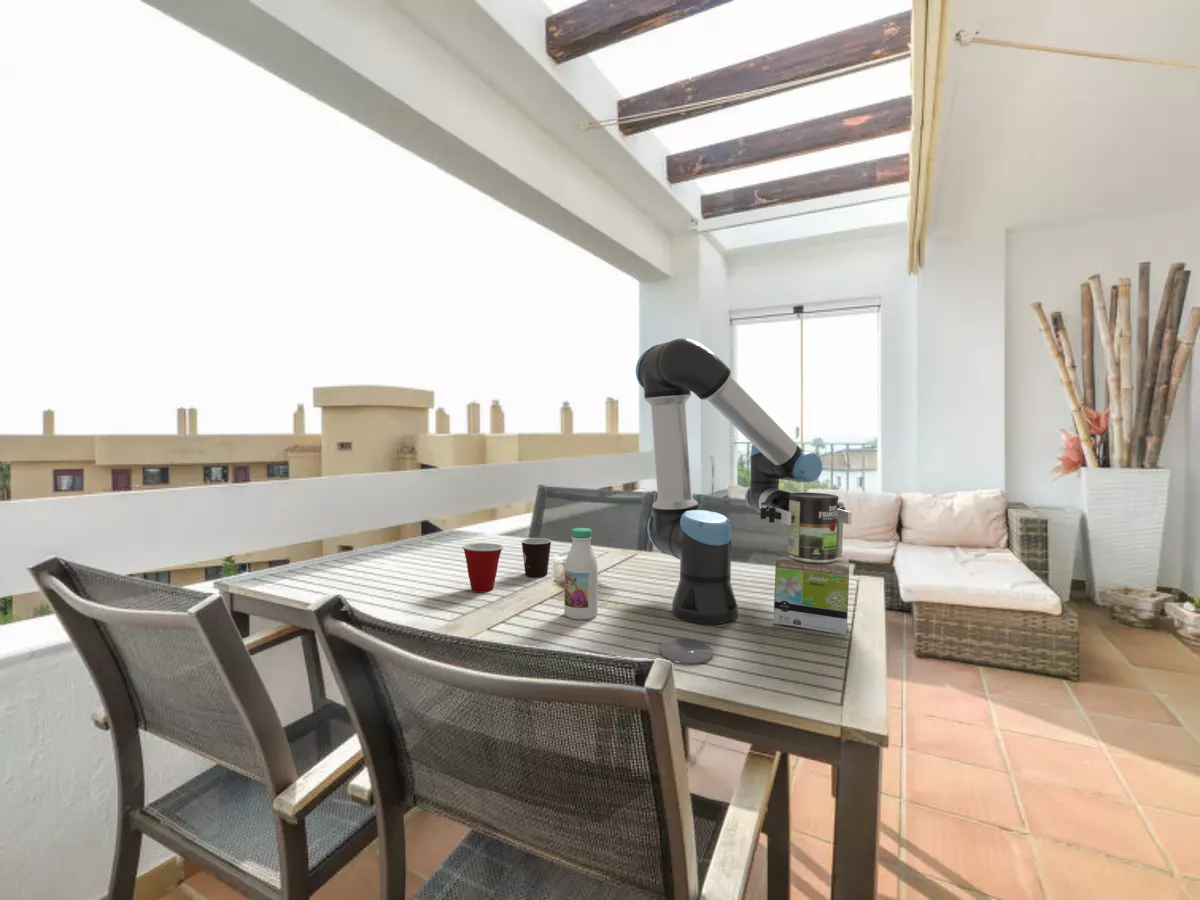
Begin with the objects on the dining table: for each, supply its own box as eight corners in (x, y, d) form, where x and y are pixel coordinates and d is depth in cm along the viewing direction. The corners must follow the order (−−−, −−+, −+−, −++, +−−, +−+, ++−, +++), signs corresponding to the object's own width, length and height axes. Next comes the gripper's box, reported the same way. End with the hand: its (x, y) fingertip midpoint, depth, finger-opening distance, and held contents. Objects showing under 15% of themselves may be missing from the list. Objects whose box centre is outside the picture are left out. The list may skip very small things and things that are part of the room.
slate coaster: (666, 665, 99) (666, 660, 99) (655, 643, 109) (655, 639, 109) (719, 663, 100) (719, 659, 100) (704, 642, 110) (704, 638, 110)
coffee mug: (549, 578, 156) (549, 544, 156) (519, 578, 156) (519, 543, 156) (553, 568, 168) (553, 536, 167) (525, 568, 168) (525, 535, 167)
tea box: (773, 625, 120) (774, 559, 120) (778, 611, 129) (779, 550, 129) (847, 636, 114) (849, 566, 113) (847, 621, 123) (849, 556, 123)
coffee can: (846, 559, 120) (848, 495, 119) (817, 565, 114) (819, 499, 114) (806, 550, 128) (807, 491, 128) (777, 555, 123) (778, 493, 122)
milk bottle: (581, 607, 131) (582, 525, 131) (604, 615, 126) (605, 529, 125) (557, 614, 126) (557, 528, 125) (579, 623, 121) (580, 533, 120)
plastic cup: (512, 587, 147) (512, 543, 147) (483, 597, 138) (483, 551, 138) (482, 581, 153) (482, 538, 153) (453, 590, 144) (453, 545, 143)
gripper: (825, 518, 140) (874, 535, 119) (731, 519, 138) (763, 536, 117) (826, 489, 140) (874, 500, 119) (731, 490, 138) (764, 501, 117)
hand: (819, 518), depth 118 cm, fingers open, 13 cm apart
